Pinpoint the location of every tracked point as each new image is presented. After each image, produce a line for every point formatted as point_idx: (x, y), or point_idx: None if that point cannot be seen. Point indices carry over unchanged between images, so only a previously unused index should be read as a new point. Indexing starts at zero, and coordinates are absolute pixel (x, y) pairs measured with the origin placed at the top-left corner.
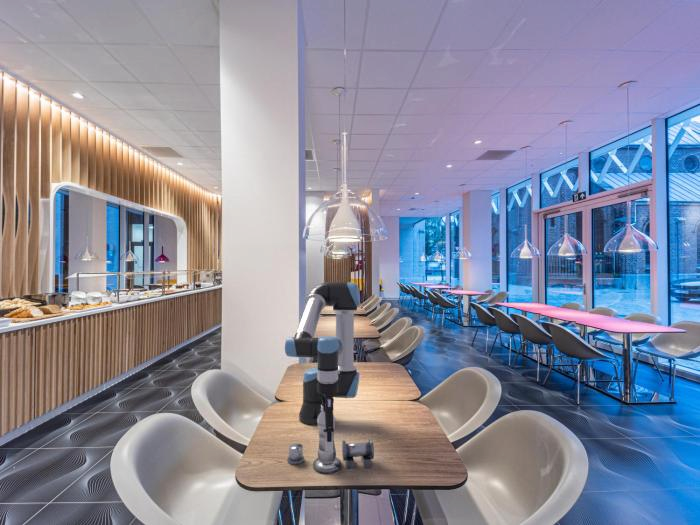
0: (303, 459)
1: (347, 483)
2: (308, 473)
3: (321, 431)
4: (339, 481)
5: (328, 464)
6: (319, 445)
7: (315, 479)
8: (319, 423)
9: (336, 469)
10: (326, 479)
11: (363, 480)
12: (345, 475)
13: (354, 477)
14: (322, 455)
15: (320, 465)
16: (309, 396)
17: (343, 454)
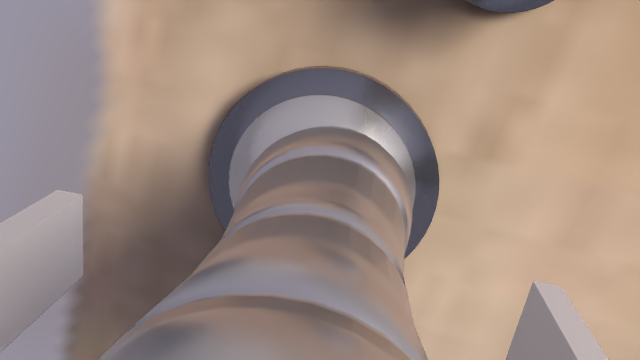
0: (469, 1)
1: None
2: (255, 9)
3: (193, 273)
4: (107, 203)
5: None
6: (298, 171)
7: (158, 48)
8: (142, 331)
9: (225, 226)
10: (145, 127)
11: (98, 335)
12: (171, 259)
13: (138, 301)
14: (256, 164)
15: (285, 125)
16: None
17: None
